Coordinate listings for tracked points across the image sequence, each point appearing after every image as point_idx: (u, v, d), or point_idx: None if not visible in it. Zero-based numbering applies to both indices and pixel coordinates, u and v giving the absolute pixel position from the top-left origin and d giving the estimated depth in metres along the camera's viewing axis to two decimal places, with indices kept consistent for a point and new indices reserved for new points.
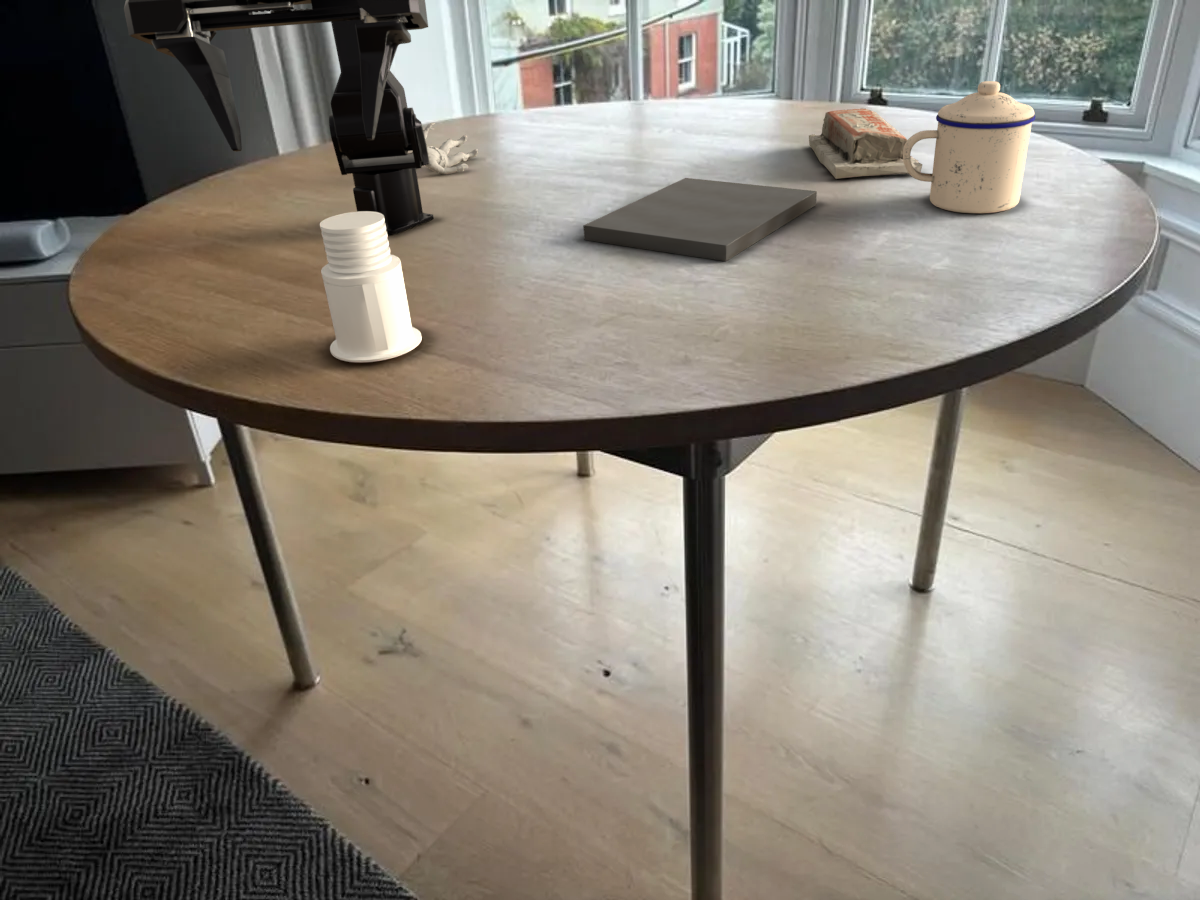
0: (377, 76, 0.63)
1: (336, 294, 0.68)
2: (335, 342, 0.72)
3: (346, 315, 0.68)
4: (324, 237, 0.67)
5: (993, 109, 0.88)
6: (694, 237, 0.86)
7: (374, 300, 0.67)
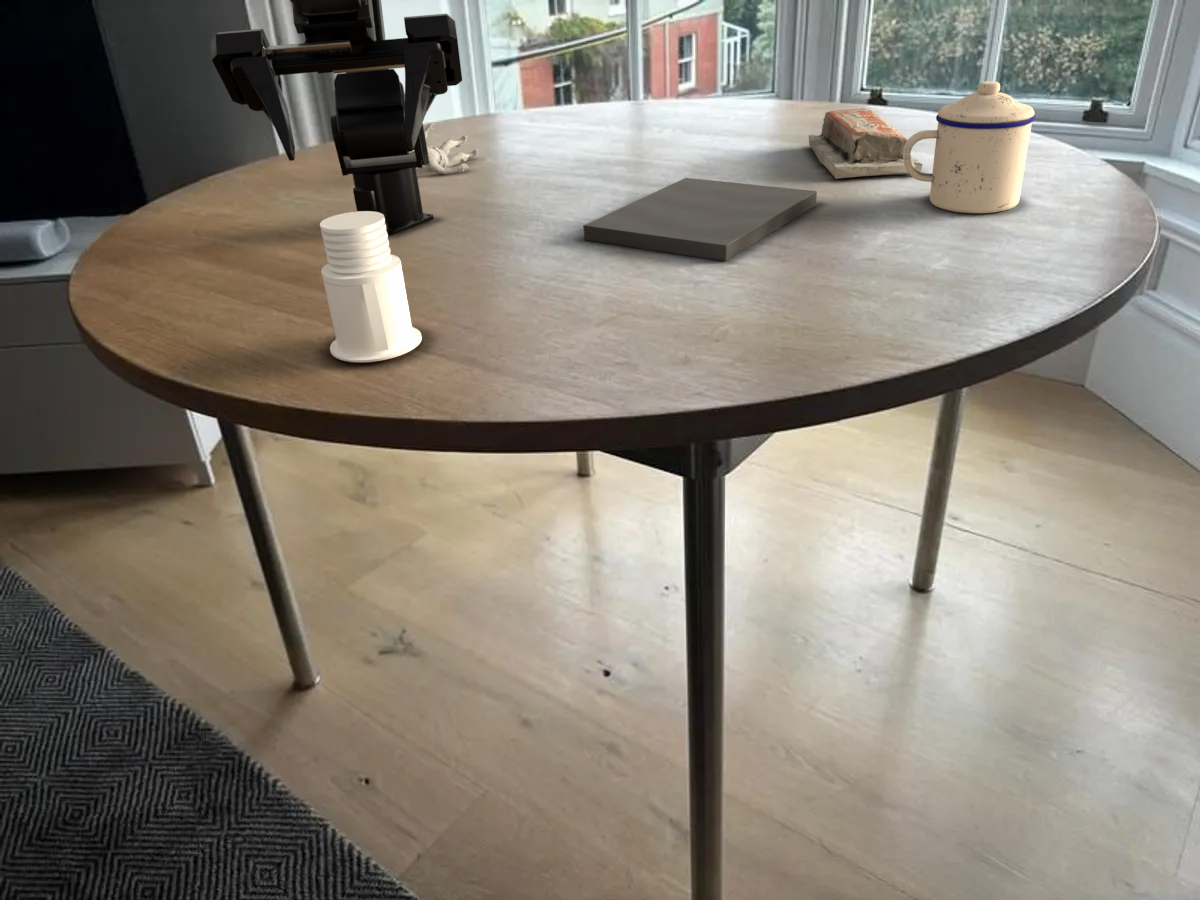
0: (419, 91, 0.73)
1: (336, 294, 0.68)
2: (335, 342, 0.72)
3: (346, 315, 0.68)
4: (324, 237, 0.67)
5: (993, 109, 0.88)
6: (694, 237, 0.86)
7: (374, 300, 0.67)
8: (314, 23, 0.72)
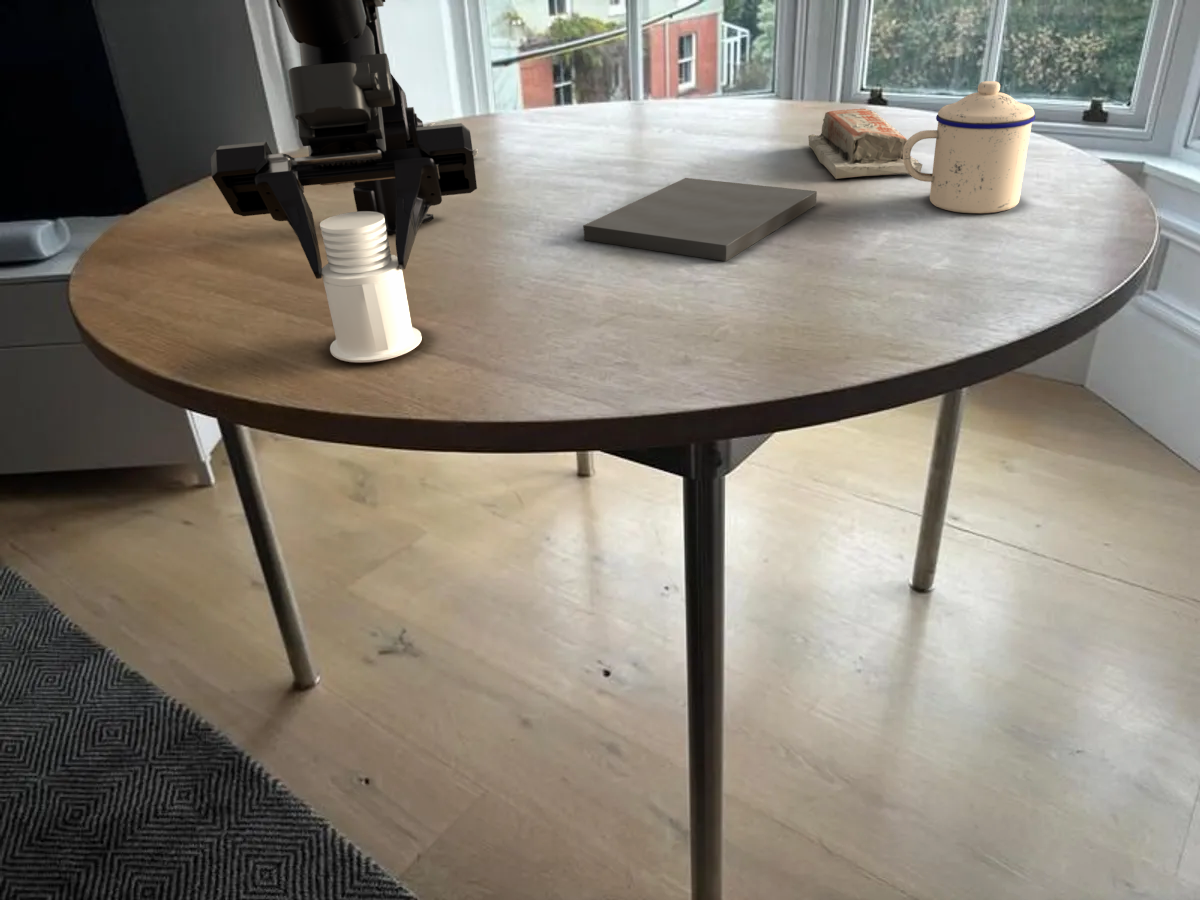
0: (411, 209, 0.68)
1: (336, 294, 0.68)
2: (335, 342, 0.72)
3: (346, 315, 0.68)
4: (324, 237, 0.67)
5: (993, 108, 0.88)
6: (694, 237, 0.86)
7: (374, 300, 0.67)
8: (321, 136, 0.67)
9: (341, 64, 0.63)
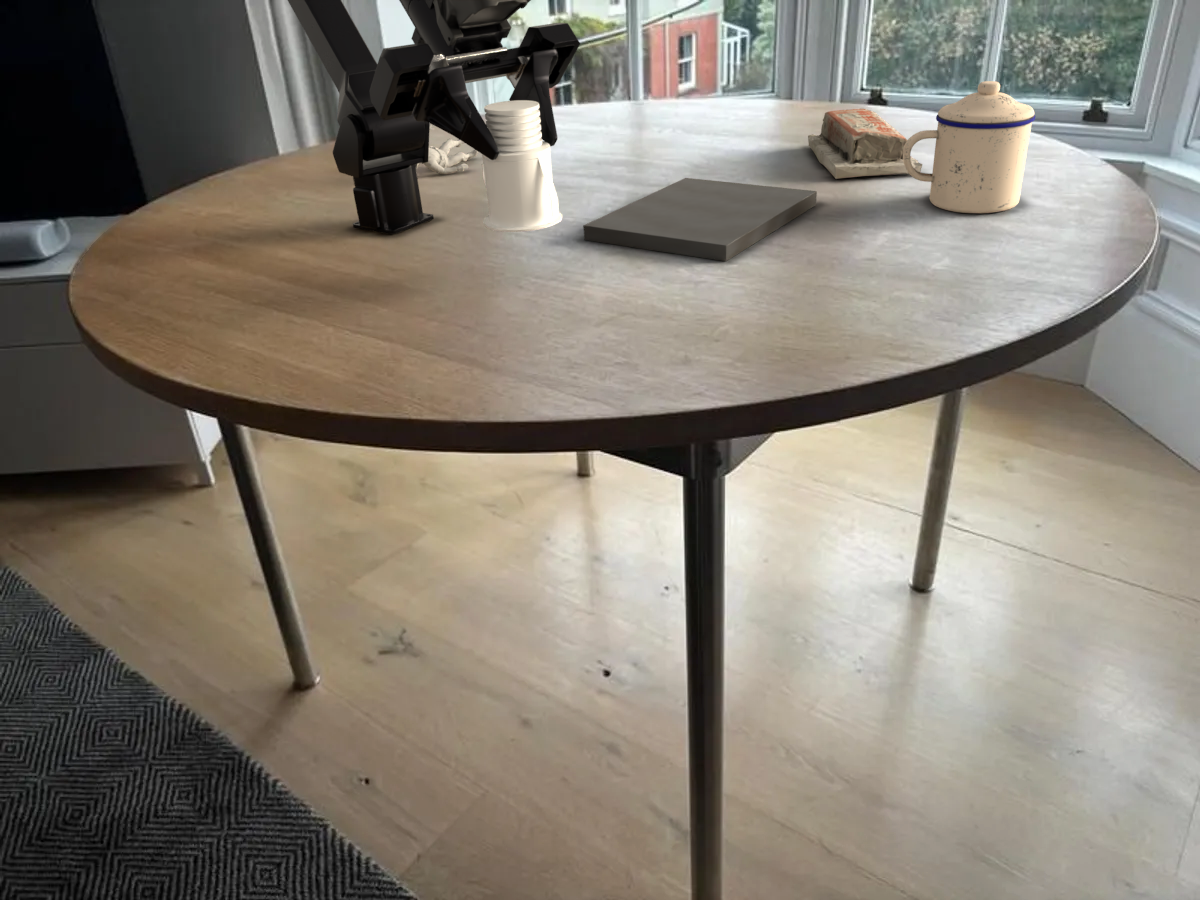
0: (549, 94, 0.80)
1: (514, 170, 0.77)
2: (488, 224, 0.81)
3: (522, 188, 0.78)
4: (500, 120, 0.76)
5: (993, 108, 0.88)
6: (694, 237, 0.86)
7: (547, 171, 0.78)
8: (467, 35, 0.76)
9: None
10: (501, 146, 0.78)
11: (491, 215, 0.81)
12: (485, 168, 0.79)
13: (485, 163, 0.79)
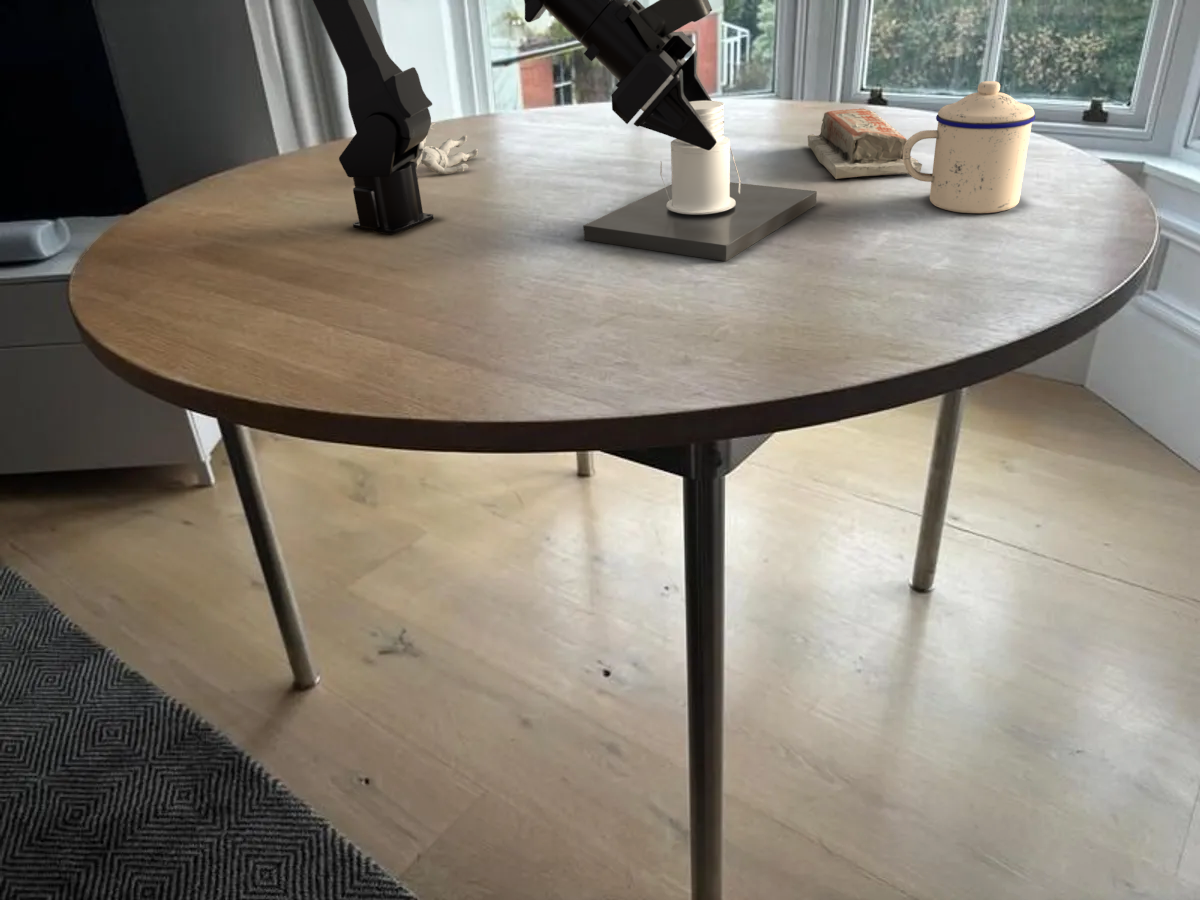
0: (703, 87, 0.95)
1: (721, 158, 0.90)
2: (690, 211, 0.92)
3: (724, 173, 0.91)
4: (709, 116, 0.88)
5: (993, 108, 0.88)
6: (694, 237, 0.86)
7: (732, 156, 0.93)
8: None
9: None
10: None
11: (691, 203, 0.92)
12: (689, 162, 0.90)
13: (691, 157, 0.90)
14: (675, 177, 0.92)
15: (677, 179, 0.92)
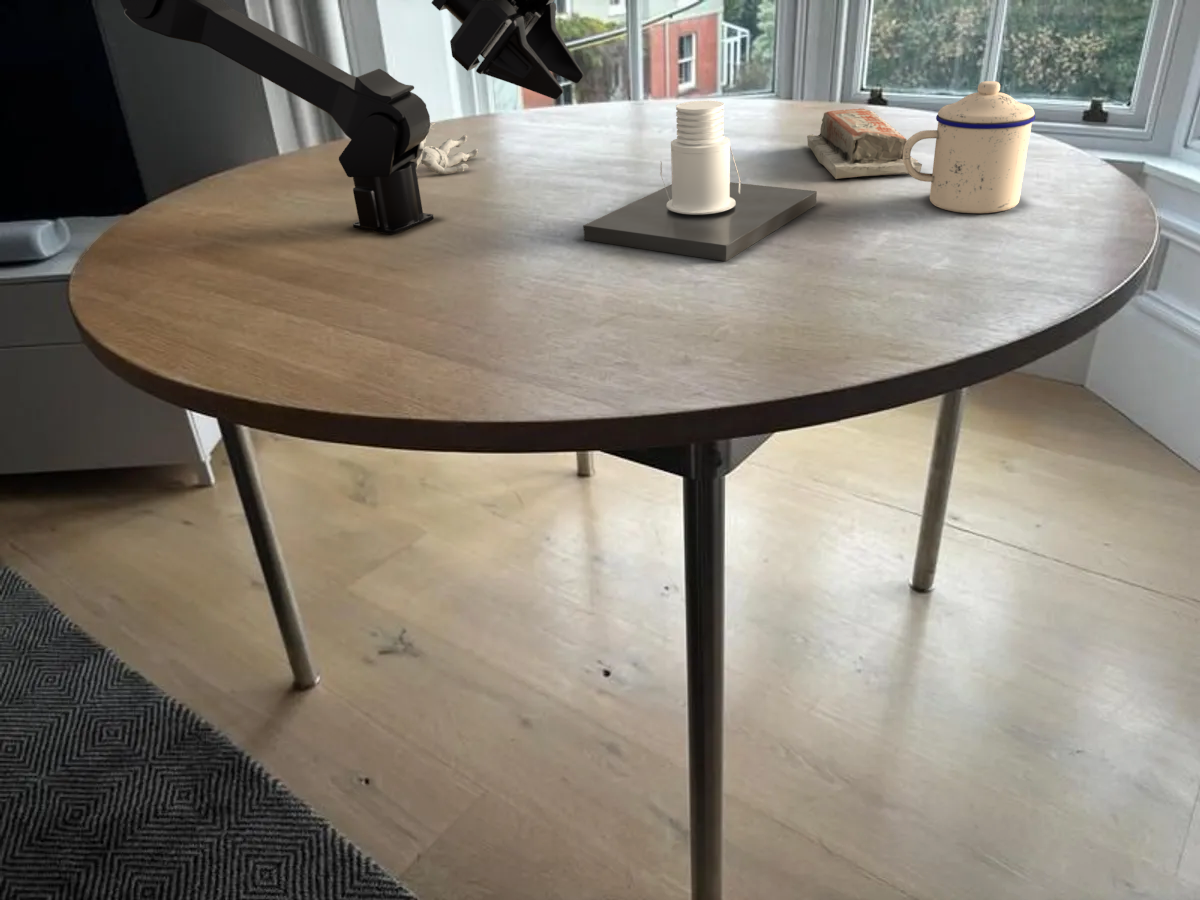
0: (562, 40, 0.95)
1: (721, 158, 0.90)
2: (690, 211, 0.92)
3: (724, 173, 0.91)
4: (709, 116, 0.88)
5: (993, 109, 0.88)
6: (694, 237, 0.86)
7: (732, 156, 0.93)
8: None
9: None
10: (704, 140, 0.90)
11: (691, 203, 0.92)
12: (689, 162, 0.90)
13: (691, 157, 0.90)
14: (675, 177, 0.92)
15: (677, 179, 0.92)
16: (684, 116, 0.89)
